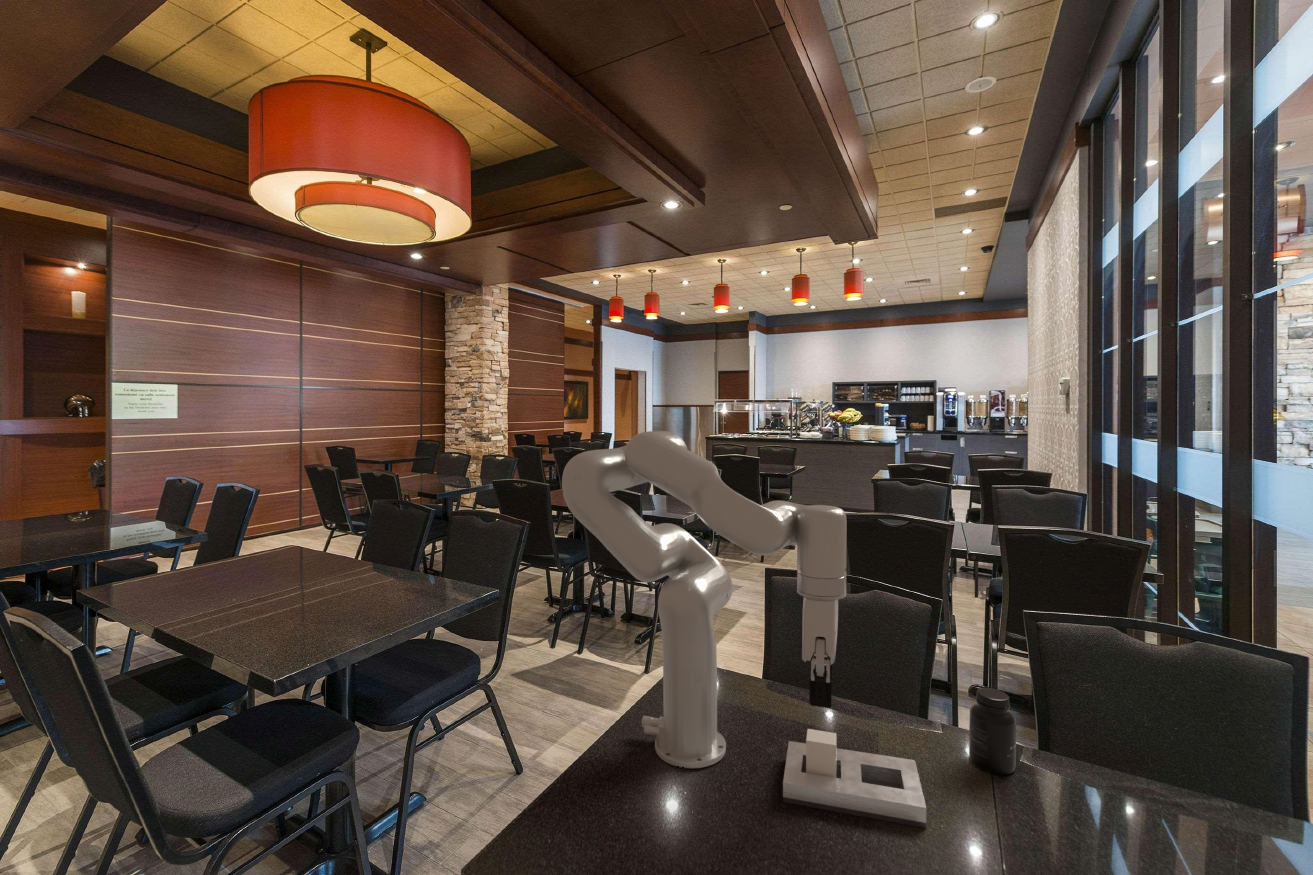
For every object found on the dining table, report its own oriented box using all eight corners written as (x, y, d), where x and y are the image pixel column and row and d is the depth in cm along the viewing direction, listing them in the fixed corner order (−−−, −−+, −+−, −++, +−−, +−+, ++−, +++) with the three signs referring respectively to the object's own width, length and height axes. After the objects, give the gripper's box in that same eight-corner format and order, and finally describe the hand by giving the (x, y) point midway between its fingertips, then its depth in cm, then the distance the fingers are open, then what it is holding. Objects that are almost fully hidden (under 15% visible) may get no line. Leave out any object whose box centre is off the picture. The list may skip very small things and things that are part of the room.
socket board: (783, 801, 88) (783, 782, 88) (788, 757, 99) (788, 740, 99) (926, 828, 82) (926, 807, 82) (914, 778, 93) (914, 759, 93)
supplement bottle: (1023, 778, 93) (1023, 705, 93) (977, 773, 94) (977, 701, 94) (1006, 754, 100) (1006, 686, 100) (963, 750, 101) (964, 682, 101)
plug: (806, 783, 91) (806, 740, 91) (807, 770, 94) (807, 728, 94) (836, 789, 89) (836, 745, 89) (836, 775, 93) (836, 733, 93)
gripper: (800, 568, 100) (799, 666, 101) (793, 598, 84) (793, 715, 84) (845, 572, 98) (844, 672, 99) (847, 602, 82) (847, 723, 82)
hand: (821, 691), depth 91 cm, fingers open, 8 cm apart
